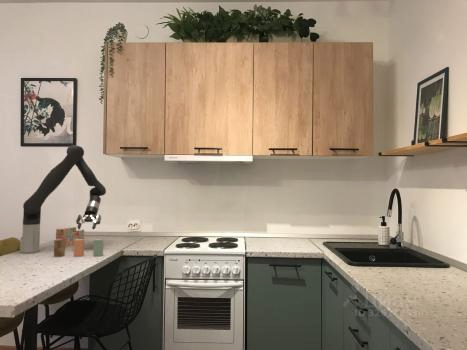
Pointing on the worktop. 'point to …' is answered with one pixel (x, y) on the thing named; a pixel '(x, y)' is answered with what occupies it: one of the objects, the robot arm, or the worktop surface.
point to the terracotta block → (78, 247)
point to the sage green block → (98, 247)
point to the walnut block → (59, 247)
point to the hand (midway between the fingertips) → (86, 228)
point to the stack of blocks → (69, 234)
